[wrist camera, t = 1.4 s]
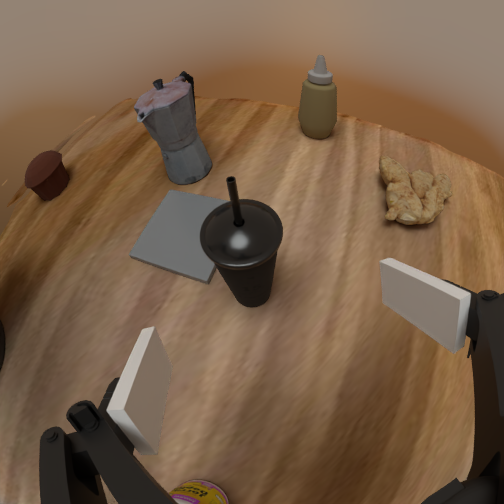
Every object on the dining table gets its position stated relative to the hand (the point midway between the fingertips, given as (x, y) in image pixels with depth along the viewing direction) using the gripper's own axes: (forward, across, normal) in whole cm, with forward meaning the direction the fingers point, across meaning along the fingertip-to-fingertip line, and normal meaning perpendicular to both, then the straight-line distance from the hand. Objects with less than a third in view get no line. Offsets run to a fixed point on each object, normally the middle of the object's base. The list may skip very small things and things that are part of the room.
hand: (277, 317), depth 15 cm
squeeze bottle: (+43, +22, +15) cm, 51 cm away
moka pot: (+41, -5, +13) cm, 44 cm away
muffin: (+49, -40, +21) cm, 67 cm away
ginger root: (+27, +30, -2) cm, 40 cm away
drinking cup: (+22, 0, -6) cm, 23 cm away
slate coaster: (+30, -7, +2) cm, 31 cm away
